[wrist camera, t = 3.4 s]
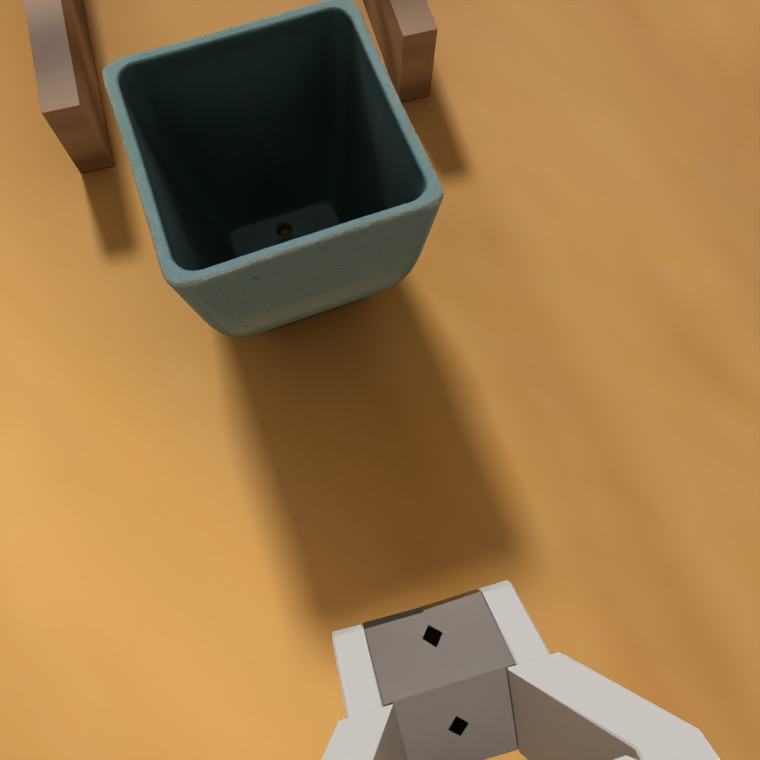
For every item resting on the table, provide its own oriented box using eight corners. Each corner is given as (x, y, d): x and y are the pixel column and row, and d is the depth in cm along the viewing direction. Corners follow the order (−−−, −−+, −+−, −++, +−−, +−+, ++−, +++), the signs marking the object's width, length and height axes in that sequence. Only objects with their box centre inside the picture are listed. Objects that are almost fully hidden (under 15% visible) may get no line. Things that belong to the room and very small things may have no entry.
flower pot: (169, 211, 31) (95, 59, 23) (355, 153, 32) (351, -11, 24) (226, 387, 29) (166, 290, 20) (426, 318, 30) (450, 200, 21)
